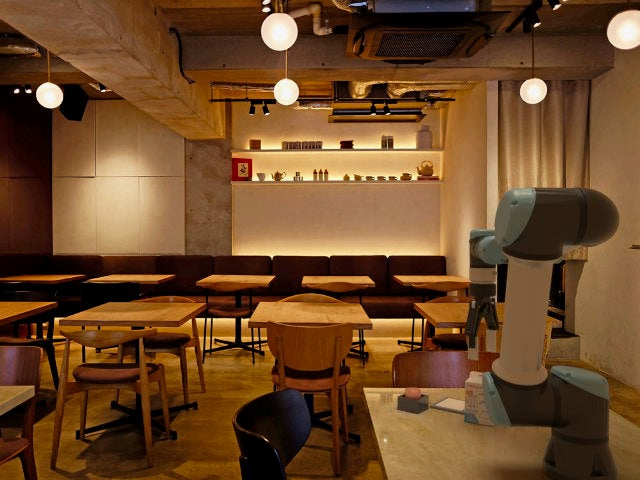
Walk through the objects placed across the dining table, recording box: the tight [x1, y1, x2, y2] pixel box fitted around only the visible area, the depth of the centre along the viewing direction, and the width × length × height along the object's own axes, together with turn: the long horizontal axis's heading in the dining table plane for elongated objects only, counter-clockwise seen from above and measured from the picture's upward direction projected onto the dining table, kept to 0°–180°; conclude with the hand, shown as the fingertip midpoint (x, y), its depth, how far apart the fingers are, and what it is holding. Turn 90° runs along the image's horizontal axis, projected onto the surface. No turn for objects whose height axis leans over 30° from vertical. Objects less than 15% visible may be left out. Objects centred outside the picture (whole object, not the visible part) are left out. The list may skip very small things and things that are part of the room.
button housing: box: [396, 392, 430, 415], centre depth 166 cm, size 7×7×4 cm
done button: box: [404, 386, 422, 400], centre depth 166 cm, size 5×5×4 cm
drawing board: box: [429, 396, 465, 416], centre depth 169 cm, size 12×11×1 cm
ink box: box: [463, 370, 496, 427], centre depth 156 cm, size 9×8×13 cm
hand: (482, 355), depth 156 cm, fingers open, 13 cm apart
